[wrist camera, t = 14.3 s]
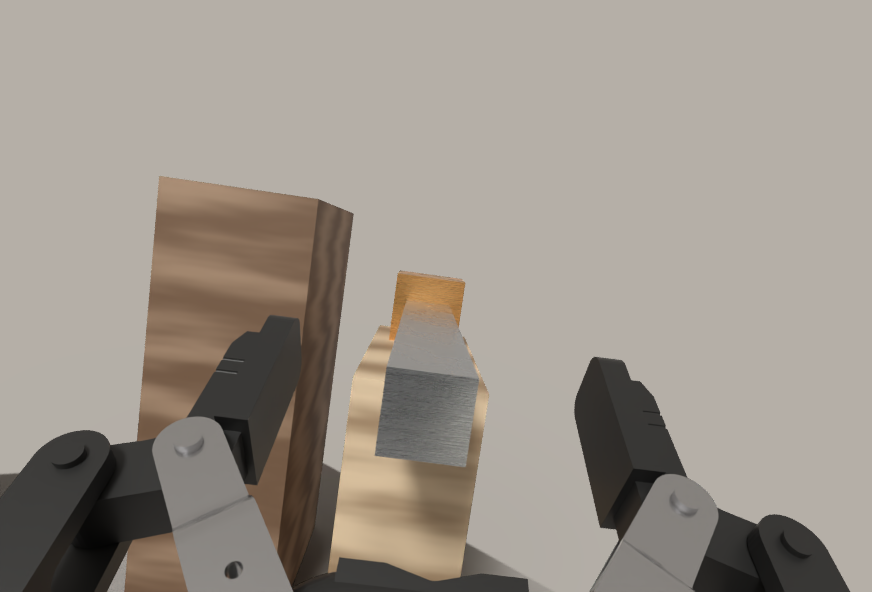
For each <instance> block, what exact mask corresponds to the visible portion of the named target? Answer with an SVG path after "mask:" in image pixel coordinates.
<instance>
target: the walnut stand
mask: <svg viewBox="0 0 872 592" xmlns="http://www.w3.org/2000/svg"><path fill="white" fill-rule="evenodd" d="M352 222H353V213H350V212H348V211H346V210H343V209H341V208H338V207H336V206H334V205H331V204H329V203H326V202H324V201H321V200H319V199H313V198H307V197H299V196H293V195H286V194H279V193H272V192H265V191H258V190H252V189H244V188H237V187H231V186H224V185H218V184H211V183H204V182H197V181H189V180H183V179H176V178H169V177H163V176H159V187H158V198H157V210H156V222H155V234H154V246H153V259H152V270H151V282H150V294H149V306H148V318H147V329H146V341H145V353H144V366H143V377H142V389H141V401H140V413H139V424H138V436H137V441H143V440H149V439H153V438H156V437H157V436H158V435H159V434H160V432H161V431H162V430H164V429H165V428H166V427H167V426H169V425H170V424H172V423H174V422H176V421H178V420H181V419H184V418H186V417H187V416H188V414H189V413H190V411H191V409H192V408H193V406H194V404H195V403H196V401H197V399H198V398H199V396H200V394H201V393H202V391H203V389H204V388H205V386H206V384H207V383H208V381H209V380H210V378H211V376H212V375H213V373H214V372H216V368H217V366H218V365H219V363H220V361H221V360H223V356H224V355H225V353H226V351H227V350H228V348H229V346H230V345H231V343H232V342H233V341H235V340H236V339H237V338H239V337H240V336H241V335H243V334H244V333H245V332H247V331H251V332H260V331H261V329H262V327H263V325H264V323H265V321H266V320H267V318H268V316H269V315H277V316H285V317H292V318H298V319H299V321H300V336H301V357H302V364H301V372H300V377H299V380H298V383H297V386H296V389H295V391H294V394H293V396H292V399H291V401H290V404H289V406H288V409H287V411H286V414H285V416H284V419H283V422H282V424H281V427H280V429H279V432H278V434H277V437H276V439H275V442H274V444H273V447H272V449H271V452H270V455H269V457H268V460H267V462H266V465H265V467H264V470H263V472H262V475H261V477H260V480H259V482H258V485H249V484H245V487H246V489H247V491H248V494H249V495H252V496H253V497H254V499H255V501H256V503H257V505H258V508H259V510H260V512H261V515H262V517H263V520H264V522H265V525H266V527H267V529H268V532H269V534H270V537H271V539H272V541H273V544H274V546H275V549H276V551H277V554H278V556H279V558H280V561H281V563H282V566H283V568H284V571H285V573H286V575H287V578H288V580H289V583H290V585H291V587H292V585H293V582H294V580H295V577H296V574H297V572H298V569H299V567H300V564H301V561H302V559H303V556H304V554H305V551H306V548H307V546H308V543H309V540H310V538H311V535H312V533H313V530H314V527H315V519H316V511H317V503H318V495H319V487H320V479H321V471H322V463H323V455H324V447H325V439H326V430H327V422H328V415H329V406H330V398H331V390H332V382H333V374H334V366H335V358H336V350H337V342H338V334H339V326H340V317H341V310H342V302H343V294H344V286H345V278H346V270H347V262H348V254H349V246H350V238H351V230H352ZM124 592H188V590H187V586H186V582H185V579H184V575H183V571H182V567H181V564H180V560H179V556H178V552H177V548H176V545H175V541H174V537H173V532H171V533H166V534H161V535H156V536H151V537H146V538H141V539H136V540H133V541H132V543H131V545H130V547H129V549H128V555H127V567H126V579H125V591H124Z"/></svg>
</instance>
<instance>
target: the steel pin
mask: <svg viewBox="0 0 872 592" xmlns="http://www.w3.org/2000/svg"><path fill="white" fill-rule="evenodd" d="M464 288H465V282H464V281H463V280H462V279H457V278H450V277H443V276H435V275H428V274H421V273H414V272H407V271H399V273H398V277H397V284H396V291H395V299H394V306H393V313H392V321H391V328H390V335H389V340H394V344H393V347H392V350H391V354H390V357H389V360H388V364H387V368H386V375H385V382H384V390H383V397H382V404H381V412H380V419H379V427H378V434H377V441H376V449H375V456H380V457H387V458H395V459H403V460H411V461H419V462H427V463H435V464H443V465H451V466H459V467H466V461H467V455H468V448H469V442H470V436H471V429H472V423H473V416H474V410H475V403H476V397H477V391H478V384H479V377H478V374H477V372H476V369H475V367H474V364H473V362H472V360H471V357H470V355H469V352H468V350H467V347H466V345H465V342H464V340H463V337H462V335H461V332H460V330H459V321H460V314H461V307H462V301H463V294H464Z"/></svg>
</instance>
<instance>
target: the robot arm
mask: <svg viewBox="0 0 872 592" xmlns="http://www.w3.org/2000/svg"><path fill="white" fill-rule="evenodd" d="M301 364H302V357H301V336H300V321H299V319H298V318H292V317H285V316H277V315H269V316H268V318H267V320H266V321H265V323H264V325H263V327H262V329H261V331H260V332H251V331H247V332H245V333H244V334H243V335H241V336H240V337H239V338H237V339H236V340H235V341H233V342H232V343H231V345H230V346H229V348H228V350H227V351H226V353H225V355H224V356H223V360H221V361H220V363H219V365H218V366H217V368H216V372H214V373H213V375H212V376H211V378H210V380H209V381H208V383H207V384H206V386H205V388H204V389H203V391H202V393H201V394H200V396H199V398H198V399H197V401H196V403H195V404H194V406H193V408H192V409H191V411H190V413H189V414H188V416H187V417H186V418H184V419H181V420H178V421H176V422H174V423H172V424H170V425H169V426H167V427H166V428H165V429H164V430H162V431H161V432H160V434H159V435H158V436H157V437H156V438H153V439H149V440H143V441H136V442H130V443H122V444H116V445H110V443H109V441H108V439H107V438H106V437H105V436H104V435H103V434H101V433H99V432H95V431H90V430H83V431H75V432H70V433H67V434H64V435H62V436H60V437H57V438H55V439H53V440H51V441H50V442H48V443H47V444H46V445H44V446H43V447H41V448H40V449H39V450H38V451H37V452H36V453H35V454H34V456H33V457H32V458H31V460H30V461H29V462H28V463H27V465H26V466H25V467H24V468H23V470H22V471H21V472H20V474H19V475H18V476H17V477H16V479H15V480H14V481H13V483H12V484H11V485H10V486H9V488H8V489H7V490H6V492H5V493H4V494H3V495H2V497H1V498H0V592H107V590H108V588H109V586H110V584H111V582H112V580H113V578H114V576H115V574H116V572H117V570H118V568H119V566H120V564H121V562H122V561H123V559H124V557H125V555H126V553H127V551H128V549H129V547H130V545H131V543H132V541H133V540H136V539H141V538H146V537H151V536H156V535H161V534H166V533H171V532H173V537H174V541H175V545H176V548H177V552H178V556H179V560H180V564H181V567H182V571H183V575H184V579H185V582H186V586H187V590H188V592H529V589H528V579H523V578H515V577H506V576H497V575H489V574H477V575H471V576H464V577H458V578H452V579H446V580H440V581H431V580H428V579H425V578H423V577H420V576H418V575H415V574H413V573H410V572H408V571H405V570H403V569H400V568H398V567H395V566H393V565H390V564H388V563H385V562H376V561H367V560H359V559H350V558H341V557H339V561H338V565H337V570H336V572H331V573H326V574H323V575H319V576H316V577H314V578H311V579H309V580H307V581H304V582H303V583H301V584H299V585H297V586H296V587H294V588H292V587H291V585H290V583H289V580H288V578H287V575H286V573H285V571H284V568H283V566H282V563H281V561H280V558H279V556H278V554H277V551H276V549H275V546H274V544H273V541H272V539H271V537H270V534H269V532H268V529H267V527H266V525H265V522H264V520H263V517H262V515H261V512H260V510H259V508H258V505H257V503H256V501H255V499H254V497H253V496H252V495H249V494H248V491H247V489H246V487H245V484H249V485H258V482H259V480H260V477H261V475H262V472H263V470H264V467H265V465H266V462H267V460H268V457H269V455H270V452H271V449H272V447H273V444H274V442H275V439H276V437H277V434H278V432H279V429H280V427H281V424H282V422H283V419H284V416H285V414H286V411H287V409H288V406H289V404H290V401H291V399H292V396H293V394H294V391H295V389H296V386H297V383H298V380H299V377H300V372H301ZM574 410H575V420H576V424H577V429H578V433H579V437H580V442H581V446H582V451H583V455H584V459H585V463H586V468H587V472H588V477H589V481H590V485H591V490H592V494H593V498H594V503H595V507H596V511H597V516H598V520H599V525H600V527H601V528H608V529H616V530H617V534H618V538H619V541H618V542H617V544H616V546H615V547H614V549H613V551H612V553H611V554H610V556H609V558H608V560H607V562H606V563H605V565H604V567H603V569H602V571H601V572H600V574H599V576H598V578H597V579H596V581H595V583H594V585H593V586H592V588H591V590H590V592H850V591H849V589H848V587H847V585H846V583H845V581H844V580H843V578H842V576H841V574H840V572H839V571H838V569H837V567H836V565H835V563H834V561H833V560H832V558H831V556H830V554H829V552H828V550H827V549H826V547H825V546H824V544H823V543H822V542H821V541H820V539H819V538H818V537H817V536H816V535H815V534H814V533H813V532H812V531H810V530H809V529H808V528H806V527H805V526H804V525H802V524H801V523H799V522H797V521H795V520H793V519H791V518H788V517H786V516H782V515H775V514H774V515H768V516H765V517H764V518H762V520H761V521H760V522H759V523H758V524H755V523H752V522H750V521H747V520H745V519H742V518H740V517H737V516H735V515H732V514H730V513H727V512H725V511H723V510H721V509H719V508H717V507H716V504H715V502H714V500H713V499H712V498H711V496H710V495H709V494H708V492H706V490H704V489H703V488H702V487H701V486H700V485H699V484H697V483H696V482H694V481H692V480H691V479H689V478H687V476H686V473H685V471H684V468H683V466H682V464H681V462H680V459H679V457H678V454H677V452H676V449H675V447H674V444H673V442H672V440H671V437H670V435H669V432H668V430H667V429H665V423H664V420H663V418H662V416H660V411H659V408H658V406H657V404H656V401H655V399H654V397H653V396H652V394H651V393H650V392H649V391H648V390H647V389H646V388H645V386H644V385H643V384H642V383H641V382H640V381H632V380H631V379H630V376H629V373H628V371H627V368H626V365H625V363H624V362H623V361H622V360H615V359H608V358H599V357H594V358H592V360H591V361H590V364H589V366H588V368H587V371H586V374H585V376H584V378H583V381H582V384H581V386H580V389H579V391H578V393H577V396H576V400H575V409H574Z"/></svg>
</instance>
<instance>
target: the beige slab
mask: <svg viewBox="0 0 872 592" xmlns="http://www.w3.org/2000/svg"><path fill="white" fill-rule="evenodd" d="M390 328H391V327H388V326H381V325H380V327H379V328H378V330H377V332H376V334H375V336H374V338H373V340H372V342H371V344H370V346H369V347H368V349H367V351H366V353H365V355H364V357H363V359H362V361H361V363H360V365H359V367H358V369H357V370H356V372H355V374H354V376H353V382H352V389H351V397H350V405H349V413H348V421H347V429H346V437H345V445H344V452H343V459H342V467H341V475H340V483H339V490H338V498H337V506H336V514H335V521H334V529H333V537H332V545H331V552H330V560H329V568H328V573H331V572H336V570H337V565H338V561H339V557H341V558H350V559H359V560H367V561H376V562H385V563H388V564H390V565H393V566H395V567H398V568H400V569H403V570H405V571H408V572H410V573H413V574H415V575H418V576H420V577H423V578H425V579H428V580H431V581H440V580H446V579H452V578H458V577H460V576H461V569H462V563H463V557H464V550H465V544H466V537H467V531H468V525H469V518H470V512H471V506H472V500H473V493H474V487H475V481H476V475H477V468H478V461H479V455H480V449H481V443H482V437H483V430H484V424H485V418H486V411H487V405H488V398H489V393H488V391H487V389H486V386H485V384H484V382H483V380H482V377H481V375H480V372H479V370H478V368H477V365H476V363H475V361H474V358H473V356H472V354H471V351H470V349H469V347H468V345H467V342H466V340H465V338H464V337H463V340H464V342H465V345H466V347H467V350H468V352H469V355H470V357H471V360H472V362H473V364H474V367H475V369H476V372H477V374H478V377H479V384H478V391H477V397H476V403H475V410H474V416H473V423H472V429H471V436H470V442H469V448H468V455H467V461H466V467H459V466H451V465H443V464H435V463H427V462H419V461H411V460H403V459H395V458H387V457H380V456H375V449H376V441H377V434H378V427H379V419H380V412H381V404H382V397H383V390H384V382H385V375H386V368H387V364H388V360H389V357H390V354H391V350H392V347H393V344H394V340H389V335H390Z"/></svg>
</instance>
